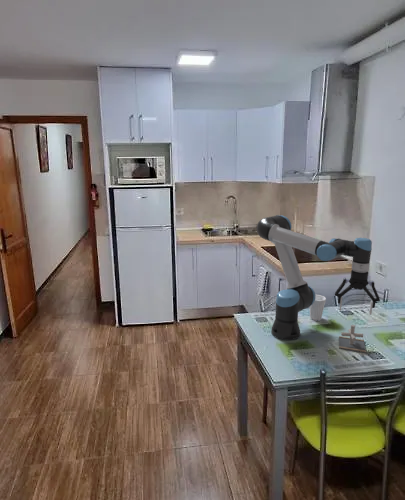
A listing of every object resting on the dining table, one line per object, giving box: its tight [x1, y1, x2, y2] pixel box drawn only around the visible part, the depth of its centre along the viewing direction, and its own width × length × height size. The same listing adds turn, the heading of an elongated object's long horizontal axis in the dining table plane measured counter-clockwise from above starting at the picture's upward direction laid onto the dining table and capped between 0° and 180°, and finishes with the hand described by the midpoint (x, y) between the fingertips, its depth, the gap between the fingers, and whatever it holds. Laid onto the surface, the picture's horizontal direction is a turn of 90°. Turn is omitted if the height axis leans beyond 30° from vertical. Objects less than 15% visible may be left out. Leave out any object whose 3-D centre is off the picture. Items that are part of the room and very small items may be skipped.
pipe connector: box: [340, 324, 364, 345], centre depth 177 cm, size 10×10×10 cm
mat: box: [338, 335, 366, 354], centre depth 178 cm, size 12×12×1 cm
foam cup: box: [308, 294, 327, 321], centre depth 208 cm, size 10×9×13 cm
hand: (355, 311), depth 174 cm, fingers open, 13 cm apart
